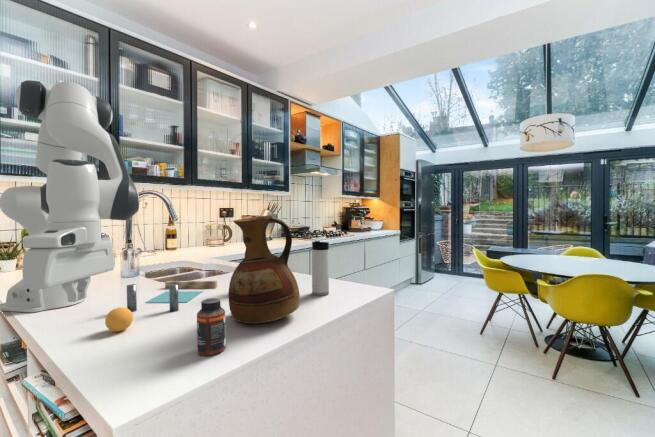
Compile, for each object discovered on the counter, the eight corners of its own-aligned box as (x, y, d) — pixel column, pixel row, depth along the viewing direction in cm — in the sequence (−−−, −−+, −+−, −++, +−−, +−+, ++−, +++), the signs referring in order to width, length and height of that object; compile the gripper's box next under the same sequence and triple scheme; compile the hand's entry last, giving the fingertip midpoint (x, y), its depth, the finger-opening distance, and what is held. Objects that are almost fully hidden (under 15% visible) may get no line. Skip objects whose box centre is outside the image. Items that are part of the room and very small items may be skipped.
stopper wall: (165, 288, 124) (165, 282, 124) (167, 287, 126) (167, 281, 126) (215, 288, 124) (215, 281, 124) (217, 286, 126) (217, 280, 126)
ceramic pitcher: (225, 311, 95) (224, 214, 95) (288, 304, 103) (288, 214, 102) (232, 335, 77) (231, 215, 77) (309, 323, 85) (308, 215, 84)
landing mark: (144, 303, 105) (144, 302, 105) (165, 292, 119) (165, 291, 119) (186, 302, 105) (186, 302, 105) (202, 291, 119) (202, 291, 119)
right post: (168, 311, 96) (167, 286, 95) (172, 309, 98) (171, 284, 98) (176, 311, 96) (175, 285, 95) (180, 309, 98) (179, 284, 98)
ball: (99, 335, 78) (99, 311, 77) (115, 326, 84) (115, 304, 83) (124, 335, 78) (123, 311, 78) (138, 326, 84) (137, 304, 84)
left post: (125, 312, 95) (124, 286, 95) (130, 309, 98) (129, 284, 98) (133, 312, 95) (133, 286, 95) (138, 309, 98) (137, 284, 98)
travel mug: (308, 295, 114) (308, 240, 113) (316, 290, 120) (316, 239, 119) (324, 297, 111) (324, 241, 111) (331, 292, 118) (331, 239, 117)
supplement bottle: (231, 346, 71) (230, 297, 71) (213, 358, 65) (213, 305, 65) (209, 343, 73) (209, 295, 73) (191, 354, 67) (190, 302, 67)
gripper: (95, 232, 76) (97, 288, 77) (13, 239, 56) (15, 316, 56) (121, 232, 76) (123, 287, 77) (49, 239, 56) (51, 315, 56)
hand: (77, 300), depth 66 cm, fingers closed
